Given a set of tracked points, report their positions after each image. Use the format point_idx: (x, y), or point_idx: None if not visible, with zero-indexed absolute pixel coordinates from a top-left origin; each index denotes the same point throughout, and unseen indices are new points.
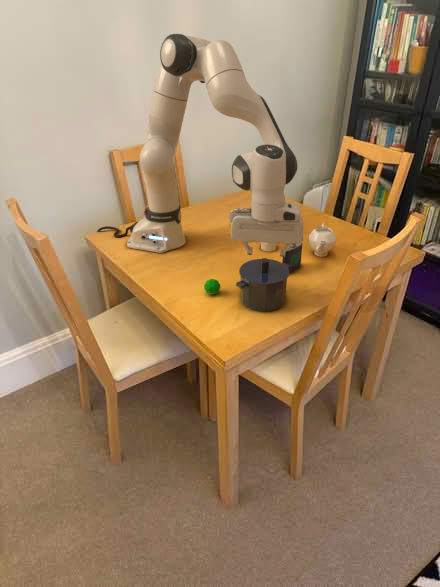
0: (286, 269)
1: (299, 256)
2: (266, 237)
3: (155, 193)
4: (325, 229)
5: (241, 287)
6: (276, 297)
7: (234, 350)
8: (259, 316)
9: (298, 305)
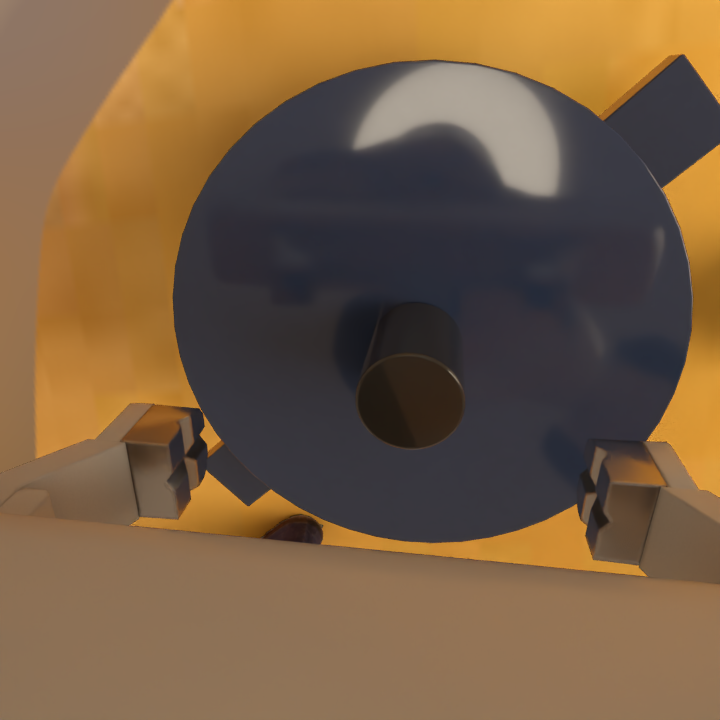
0: (206, 374)
1: None
2: (334, 641)
3: None
4: None
5: (669, 59)
6: None
7: None
8: (451, 11)
9: (188, 195)
